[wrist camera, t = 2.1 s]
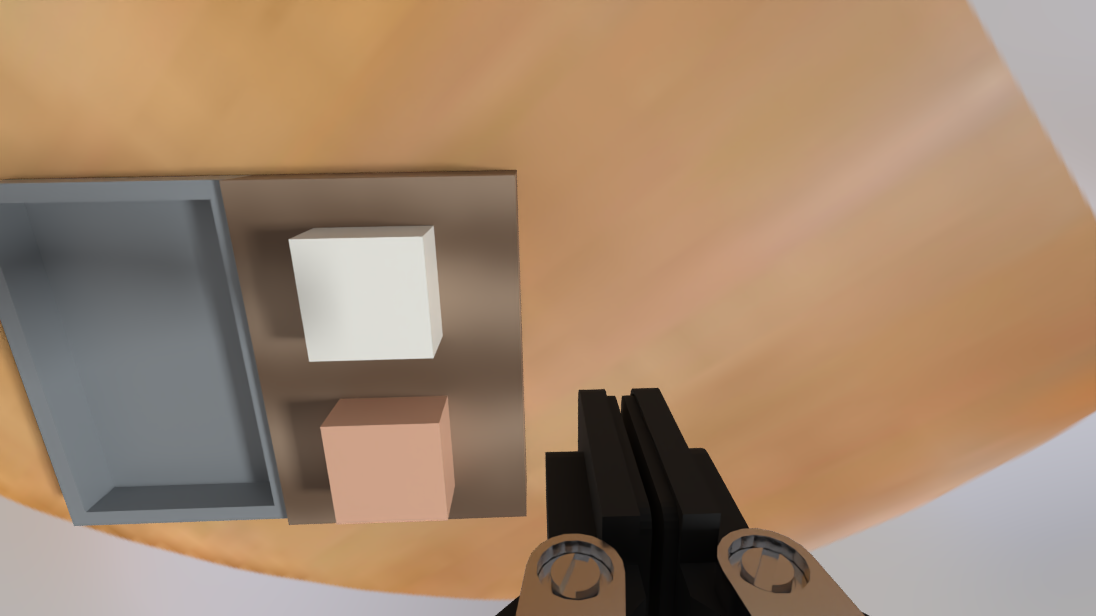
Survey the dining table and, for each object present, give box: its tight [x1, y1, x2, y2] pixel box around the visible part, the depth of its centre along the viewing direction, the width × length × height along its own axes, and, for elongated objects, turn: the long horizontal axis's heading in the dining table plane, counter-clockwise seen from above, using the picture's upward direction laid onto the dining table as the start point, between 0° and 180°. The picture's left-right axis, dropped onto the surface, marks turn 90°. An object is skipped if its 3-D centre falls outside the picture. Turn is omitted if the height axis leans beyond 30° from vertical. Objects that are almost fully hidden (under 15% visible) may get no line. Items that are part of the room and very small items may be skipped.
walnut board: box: [219, 170, 527, 525], centre depth 26 cm, size 17×12×3 cm
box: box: [0, 175, 287, 526], centre depth 26 cm, size 17×11×2 cm, turn 1°
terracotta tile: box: [320, 396, 455, 524], centre depth 25 cm, size 5×5×2 cm
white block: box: [288, 225, 443, 362], centre depth 22 cm, size 5×5×2 cm
